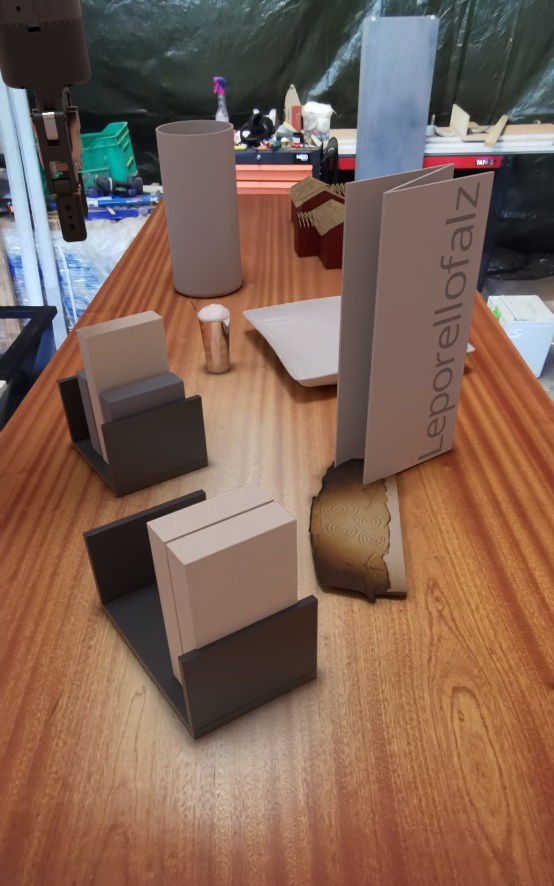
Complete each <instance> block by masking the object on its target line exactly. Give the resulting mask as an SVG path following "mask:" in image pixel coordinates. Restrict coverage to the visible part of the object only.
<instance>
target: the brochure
mask: <svg viewBox="0 0 554 886" xmlns="http://www.w3.org/2000/svg"><path fill="white" fill-rule="evenodd" d="M454 171H455V163H454V162H453V163H445V164H441V165H436V166H430V167H426V168H420V169H419V168H418V169H415V170H414V169H413V170H407V171H403V172H397V173H392V174H387V175H381V176H375V177H370V178H365V179H361V180H355V181H348V182H345V183H344V185H345V186H344V188H345V209H344V234H343V259H342V268H341V285H340V286H341V287H340V296H341V309H340V334H339V360H338V384H337V387H336V389H337V390H336V410H335V411H336V412H335V413H336V415H335V437H334V459H333V461H334V467H337V466H338V465H340V464H342V463H344V462H345V461H349V460H350V459H352V458H358V459H363V458H364V459H365V460H364V474H363V485H367V484H369V483H372V482H374V481H376V480H378V479H381V478H386V477H388V476H390V475H393V474H395V473H396V474H397V473H399V472H402V471H404V470H406V469H409V468H411V467H414V466H416V465H418V464H420V463H423V462H425V461H428V460H430V459H432V458H434V457H437V456H439V455H441V454H444V453H447V452H449V451H450V450H452V449H453V442H454V437H455V430H456V425H457V417H458V410H459V404H460V399H461V393H462V392H461V391H462V386H463V385H462V384H463V379H464V371H465V365H466V358H467V357H466V353H467V347H468V343H469V339H470V332H471V327H472V320H473V314H474V307H475V301H476V296H477V295H476V294H477V288H478V281H479V275H480V269H481V262H482V256H483V250H484V244H485V243H484V242H485V237H486V236H485V235H486V229H487V223H488V217H489V211H490V203H491V197H492V191H493V184H494V177H495V171H486V172H482V173H477V174H471V175H466V176H461V177H457V178H454V174H455V173H454Z"/></svg>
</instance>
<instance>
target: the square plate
mask: <svg viewBox="0 0 554 886" xmlns="http://www.w3.org/2000/svg"><path fill="white" fill-rule="evenodd" d="M340 309H341V295H335V296H327V297H319V298H311V299H305V300H300V301H299V300H298V301H293V302H288V303H287V302H286V303H281V304H274V305H270V306H265V307H259V308H252V309H247V310H244V311H242V315H243V317H244V318H245V319H246V320H247V321H248V323H250V324H251V326H252V327H254V328H255V329H256V330H257V331H258V332H259V333H260V335H261V336H262V337H263V338H264V339H265V341H266V342H267V343H268V344H269V346H270V348H271V349H272V350H273V352H274V353H275V354H276V357H278V359H279V361H280V362H281V364H282V365H283V367H284V368H285V370H286V371H287V372H288V374H289V375H290V377H291V378H292V379H293V380H295V381H297V382H298V384H300V385H301V386H302V387H307V388H314V387H321V386H334V385H335V386H336V385H338V360H339V334H340ZM475 352H476V348H475V347H474V345H472V344H471V343H469V342H468V347H467V353H466V358H467V357H469V356H470V355H472V354H473V353H475Z"/></svg>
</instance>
